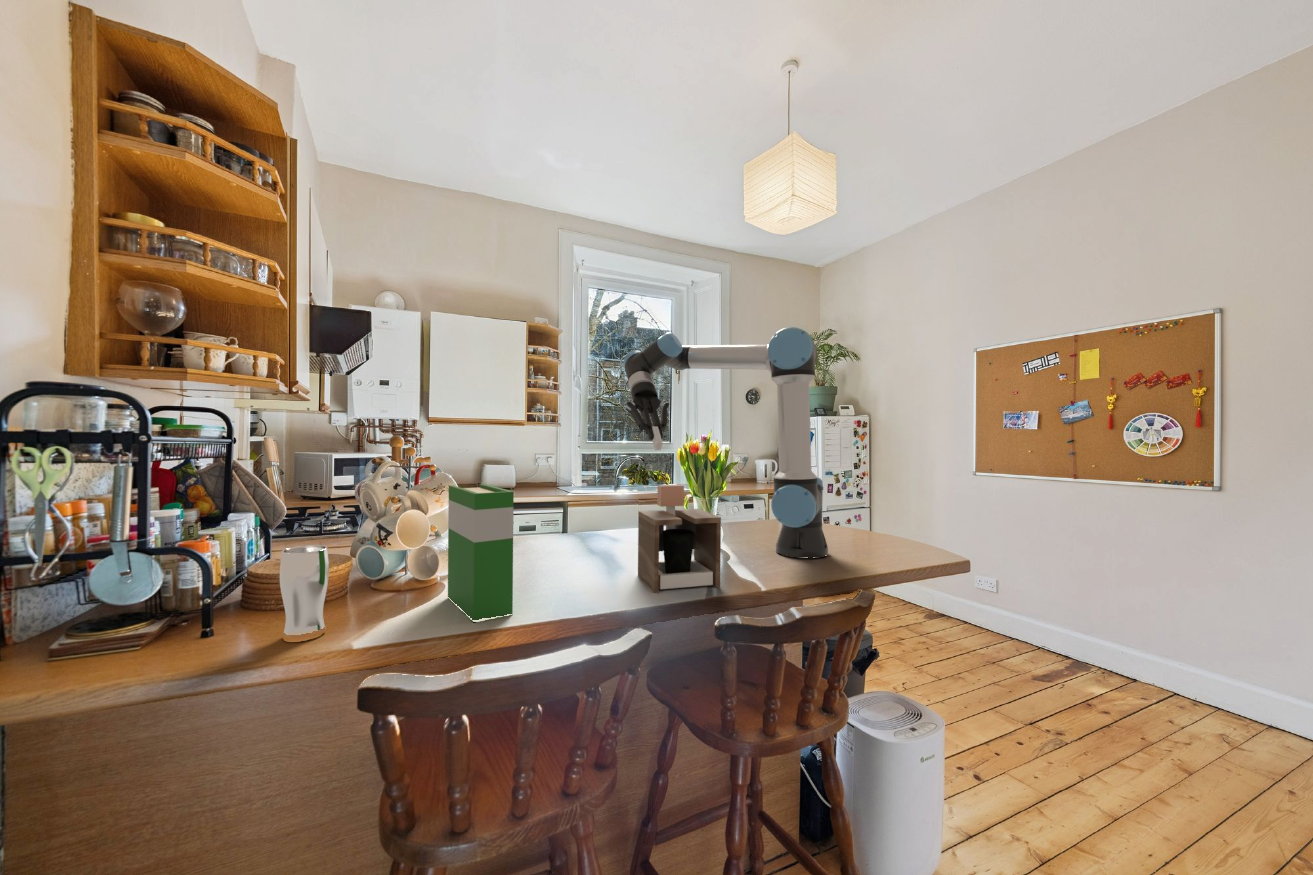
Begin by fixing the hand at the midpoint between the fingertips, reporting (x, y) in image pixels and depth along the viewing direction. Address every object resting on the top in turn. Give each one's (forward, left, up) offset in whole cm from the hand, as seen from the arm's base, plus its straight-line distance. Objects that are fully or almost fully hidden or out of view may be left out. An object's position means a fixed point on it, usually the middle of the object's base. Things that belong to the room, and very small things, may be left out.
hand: (658, 446), depth 138 cm
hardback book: (+45, +22, -32) cm, 60 cm away
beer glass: (+73, +30, -32) cm, 85 cm away
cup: (0, +16, -32) cm, 36 cm away
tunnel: (0, +16, -32) cm, 36 cm away
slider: (0, +16, -32) cm, 36 cm away
